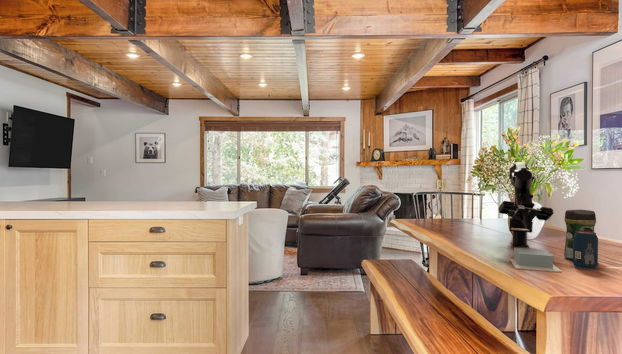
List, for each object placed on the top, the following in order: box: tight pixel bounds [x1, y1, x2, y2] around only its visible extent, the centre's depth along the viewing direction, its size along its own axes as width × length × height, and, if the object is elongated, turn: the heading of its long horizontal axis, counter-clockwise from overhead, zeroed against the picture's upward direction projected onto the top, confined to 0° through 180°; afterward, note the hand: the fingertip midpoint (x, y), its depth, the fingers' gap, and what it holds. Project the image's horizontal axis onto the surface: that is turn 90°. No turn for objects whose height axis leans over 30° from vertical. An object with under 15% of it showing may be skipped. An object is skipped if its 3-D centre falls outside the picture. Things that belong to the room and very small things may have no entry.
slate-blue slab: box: [513, 247, 554, 268], centre depth 138 cm, size 4×10×12 cm
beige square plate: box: [509, 258, 562, 273], centre depth 135 cm, size 14×13×1 cm
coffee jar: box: [563, 209, 597, 261], centre depth 148 cm, size 10×8×19 cm
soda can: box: [572, 231, 599, 271], centre depth 134 cm, size 7×7×12 cm
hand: (528, 229), depth 153 cm, fingers closed
